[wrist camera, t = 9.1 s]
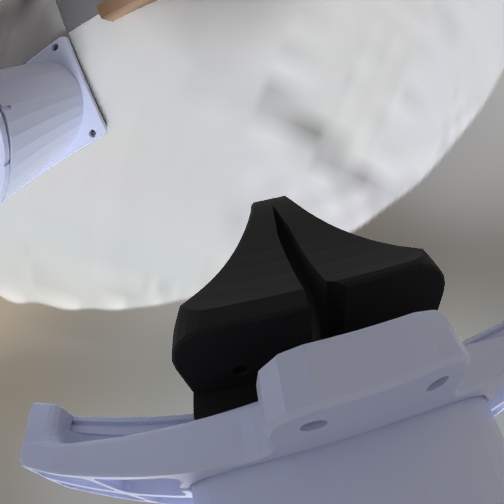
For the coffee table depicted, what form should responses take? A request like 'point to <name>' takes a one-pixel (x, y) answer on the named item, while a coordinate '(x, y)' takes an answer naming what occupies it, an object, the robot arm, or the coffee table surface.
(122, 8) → the lane rails
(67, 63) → the robot arm
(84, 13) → the zone mats
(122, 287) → the coffee table surface
